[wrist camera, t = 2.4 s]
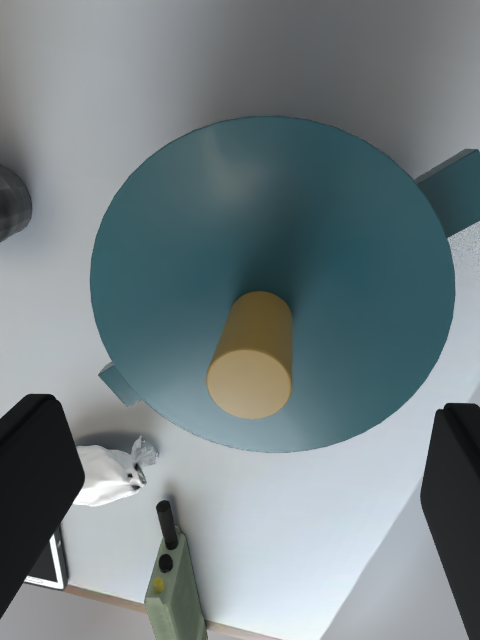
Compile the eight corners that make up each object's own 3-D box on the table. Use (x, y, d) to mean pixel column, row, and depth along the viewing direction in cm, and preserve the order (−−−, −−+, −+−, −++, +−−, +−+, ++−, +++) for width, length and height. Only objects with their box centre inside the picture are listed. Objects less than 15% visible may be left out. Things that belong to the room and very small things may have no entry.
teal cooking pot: (100, 245, 25) (7, 294, 17) (362, 43, 18) (416, -37, 10) (216, 389, 29) (186, 484, 21) (464, 266, 22) (562, 337, 14)
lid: (37, 257, 16) (-79, 308, 11) (333, 12, 11) (366, -97, 6) (224, 469, 21) (201, 577, 15) (498, 362, 16) (598, 468, 10)
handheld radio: (184, 630, 46) (149, 492, 35) (210, 632, 45) (182, 493, 35) (170, 703, 40) (122, 564, 29) (200, 706, 39) (162, 566, 29)
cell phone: (10, 571, 45) (4, 579, 44) (-13, 491, 38) (-21, 499, 37) (70, 584, 44) (65, 592, 44) (56, 505, 38) (51, 513, 37)
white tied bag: (127, 404, 32) (37, 457, 33) (119, 467, 26) (10, 529, 27) (160, 436, 35) (76, 484, 36) (159, 500, 29) (58, 555, 30)
